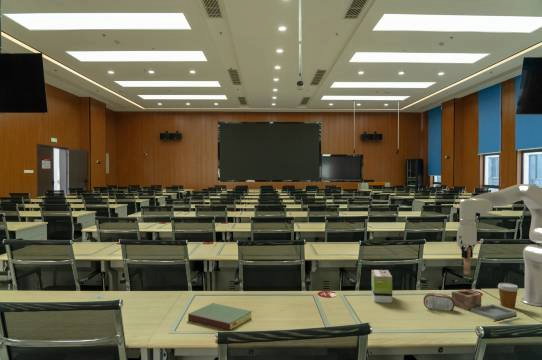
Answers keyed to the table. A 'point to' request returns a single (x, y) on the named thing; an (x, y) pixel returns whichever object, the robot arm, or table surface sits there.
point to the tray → (494, 312)
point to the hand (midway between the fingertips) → (467, 257)
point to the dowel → (467, 262)
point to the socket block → (466, 299)
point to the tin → (439, 301)
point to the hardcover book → (220, 316)
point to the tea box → (382, 286)
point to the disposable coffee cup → (508, 294)
